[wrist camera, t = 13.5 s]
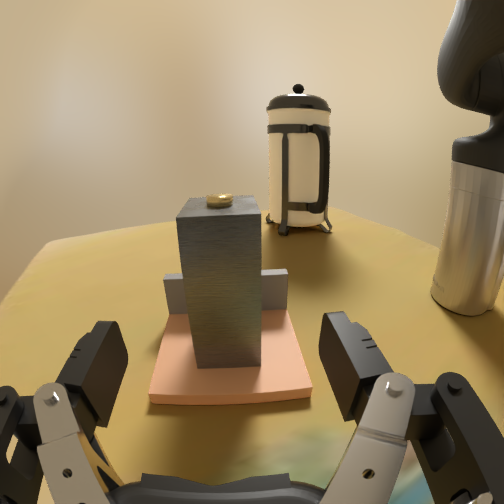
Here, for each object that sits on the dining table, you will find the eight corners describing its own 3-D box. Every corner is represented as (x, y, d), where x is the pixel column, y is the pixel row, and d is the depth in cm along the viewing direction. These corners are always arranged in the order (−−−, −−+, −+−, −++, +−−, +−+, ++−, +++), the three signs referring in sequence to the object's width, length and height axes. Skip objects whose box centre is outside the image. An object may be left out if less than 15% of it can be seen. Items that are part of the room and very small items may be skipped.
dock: (282, 307, 31) (284, 257, 29) (310, 396, 19) (321, 337, 17) (174, 312, 30) (166, 262, 28) (152, 403, 18) (130, 345, 16)
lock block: (254, 322, 27) (253, 187, 22) (261, 366, 21) (261, 203, 16) (202, 324, 26) (189, 190, 22) (197, 368, 21) (175, 207, 16)
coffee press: (244, 230, 58) (241, 81, 47) (285, 214, 69) (285, 92, 58) (323, 248, 48) (326, 70, 37) (352, 227, 60) (356, 89, 48)
